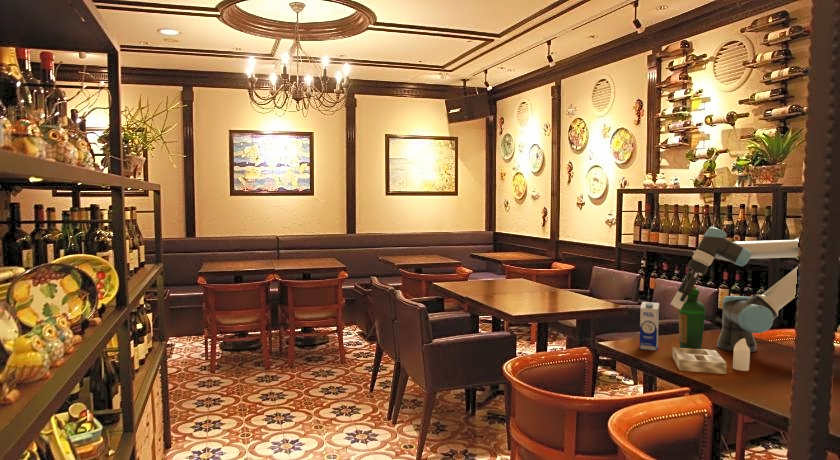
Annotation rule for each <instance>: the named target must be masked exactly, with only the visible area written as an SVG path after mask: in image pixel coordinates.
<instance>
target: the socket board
mask: <svg viewBox="0 0 840 460" xmlns="http://www.w3.org/2000/svg"><path fill="white" fill-rule="evenodd" d="M671 356H672V359H673V360H674V363H675V364H676V366H677V368H678V370H679V371H684V372H697V373H706V374H707V373H710V374H719V375H720V374H722V375H727V368H728V366H727V364H728V363H727V362H726V361H725V360H724V358H723V357H722V356H721V355H720V354H719V353H718V351H716V350H715V349H704V348H701V349H691V348H680V347H672V355H671Z"/></svg>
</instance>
